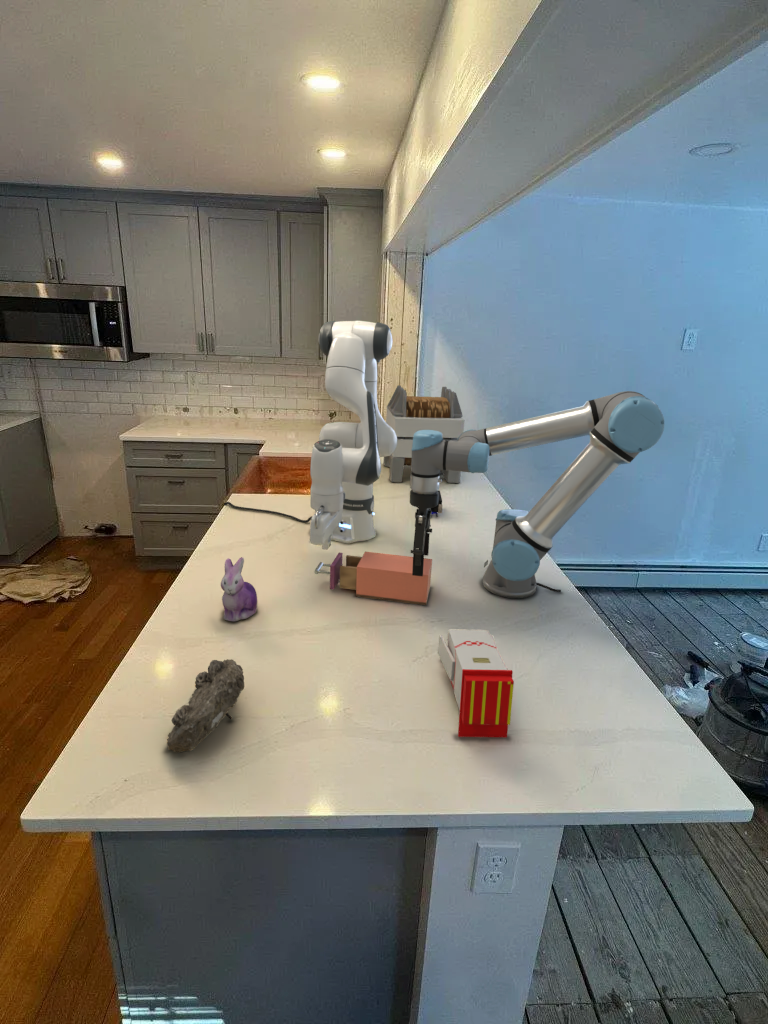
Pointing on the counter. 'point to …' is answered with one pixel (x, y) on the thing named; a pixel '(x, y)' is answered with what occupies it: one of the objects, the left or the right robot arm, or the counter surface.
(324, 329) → the left robot arm
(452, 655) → the toy
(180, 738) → the fossil
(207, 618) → the counter surface
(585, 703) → the counter surface
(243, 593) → the figurine
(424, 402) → the transformer
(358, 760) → the counter surface
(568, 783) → the counter surface
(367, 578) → the cabinet
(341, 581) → the drawer
